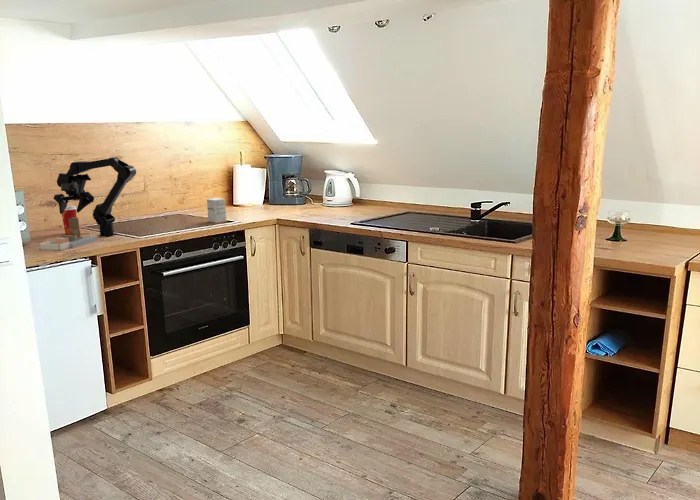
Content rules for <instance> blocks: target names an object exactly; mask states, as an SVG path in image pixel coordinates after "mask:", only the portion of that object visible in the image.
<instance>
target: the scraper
mask: <svg viewBox="0 0 700 500" xmlns="http://www.w3.org/2000/svg"><path fill="white" fill-rule="evenodd" d="M68 220H69V228H70V235H66V234H59V235H58V238H61V237H69V241H75V240H78V239H81V238H82V236H83V235H81V232H80V231H81V230H80V224H79V223H80V222H79V217H78V216H76V217H71V218H68Z"/></svg>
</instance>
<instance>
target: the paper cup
mask: <svg viewBox="0 0 700 500" xmlns="http://www.w3.org/2000/svg"><path fill="white" fill-rule="evenodd" d="M71 217H77V207H76V206H75V205H67V207H66V208H65V210H64V212H63V213H62V214H61V218H62V225H63V228H64V233H65V234H64V235H70V228H69V220H68V218H71Z"/></svg>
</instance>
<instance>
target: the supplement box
mask: <svg viewBox="0 0 700 500" xmlns="http://www.w3.org/2000/svg"><path fill="white" fill-rule="evenodd" d="M206 205H207V220H208V222H209V223H215V224H217V223H222V222H227V211H226V199H225V198H221V197H214V198H206Z"/></svg>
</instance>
